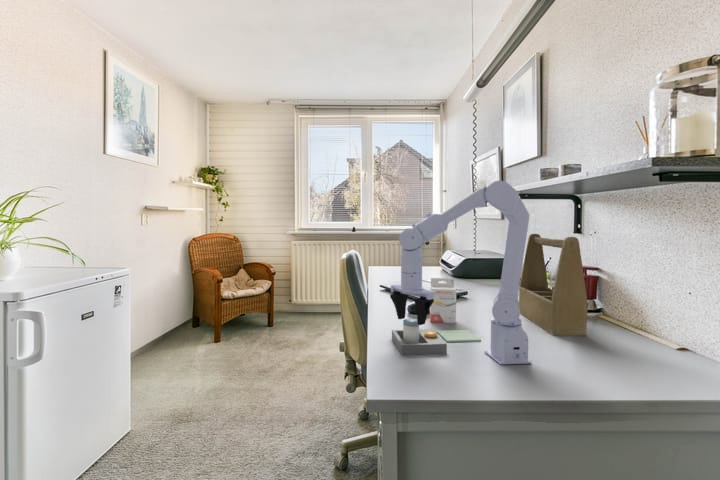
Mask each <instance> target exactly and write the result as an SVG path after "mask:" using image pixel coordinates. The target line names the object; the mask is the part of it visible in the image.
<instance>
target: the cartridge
mask: <svg viewBox="0 0 720 480" xmlns="http://www.w3.org/2000/svg"><path fill="white" fill-rule="evenodd" d="M402 320H403V321H402V322H403V326H402V327H403V328H402V330H403V339H402V341H403V343H404V344H418V343H420V341H419V329H420V325H418V322H417V318H404V319H402Z"/></svg>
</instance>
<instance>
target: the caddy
mask: <svg viewBox="0 0 720 480" xmlns="http://www.w3.org/2000/svg"><path fill="white" fill-rule="evenodd" d="M526 243H527V244H526V247H525V249H526V250H525V253H524V258H523V264H522V270H521V277H520V284H519V292H518V301H519V309H520V315H521V316H524V318H526V319H527V320H529V321H530V322H532V323H533V324H535V325H536V326H538V327H540V328H541V329H542V330H544V331H545V332H547V333H548V334H550V335H551V336H570V337H571V336H572V337H573V336H575V337H577V336H578V337H579V336H583V337H584V336H587V333H588V332H587V329H588V327H587V326H588V325H587V324H588V310H589V305H588V296H587V289H586V281H585V274H584V268H583V267H584V266H583V260H582V254H581V247H580V241H579V239H578V237H575V236H567V237H565V238H564V239H559V238H557V239H553V238H547V237H541V235H540V234H538V233H531V234H529V236H528V238H527V242H526ZM543 246H546V247H552V248H558V249H561V251H560V255H559V261H558V265H557V269H556V275H555V281H554V285H553V288H551V287H549V283H548V275H547V268H546V261H545V255H544V247H543Z"/></svg>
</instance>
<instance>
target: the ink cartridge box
mask: <svg viewBox="0 0 720 480" xmlns="http://www.w3.org/2000/svg"><path fill="white" fill-rule="evenodd" d="M441 282H443V283H441ZM429 288H430V289H429V291H433V292H434V302H433V303H432V305H431V307H430V309H429V320H430V323H437V324H438V323H439V324H443V323H444V324H456V323H457V322H456V321H457V288H456V287H455V279H454V278H450V277H449V278H447V277H432V278H430V287H429Z"/></svg>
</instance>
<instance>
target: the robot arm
mask: <svg viewBox="0 0 720 480" xmlns="http://www.w3.org/2000/svg"><path fill="white" fill-rule="evenodd" d="M488 204H489V205H490V206H491V207H493V208H494V209H496V210H498V211H500V212H501V213H502V215H503V216H504V217H505V218H506V219H507V221H508V227H507V228H508V229H507V234H506V240H505V241H506V242H505V247H504V248H505V249H504V256H503V262H502V271H501V276H500V283H499V290H498V293H497V295H496V297H495V298H494V300H493V306H492V317H491V318H490V349H485V350H484V353H485V354H487V355H488V356H489V357H491V359H493V360H494V361H495V362H497V363H498V364H499V365H520V364H521V365H522V364H523V365H524V364H532V361H531V359H529V336H528V333H526V330H524V328H523V326H522V320H521V318H520V316H521V314H520V309H519V287H520V286H519V285H520V280H521V275H522V270H523V264H524V258H525V251H526V250H525V249H526V243H527V235H528V229H529V222H530V213H529V212H528V208H526V206H525V204H524V202H523V200H522V199H521V197H520V195H519V193H518V190H516V189H515V188H514V187H513V186H512V185H510V183H508V182H506V181H505V180H496V181H493V182H491V183H490V184H489V185H488V186H483V187H481V188H479V189H477V190H475V191H474V192H472V193H470V194H469V195H468V196H466V197H464V198H462V199H461V200H460V201H458V202H457V203H455V204H454V205H453V206H451V207H450V208H448V209H447V210H445V211H444V212H442V213H440V212H435V211H434V212H432V213H431V212H429V213H427V214H426V217H425V218H424V219H422V220H420V221H419V222H417V223H412V225H411V226H412V227H409V228H405V229H403V231H402V232H401V233H400V235H399V236H398V242H399V245H400V246H401V247H400V248H401V255H400V267H401V268H400V284H391V285H390V293H391V294H389V298H390V299H391V301H392V302H393V305H394V308H395V312H396V315H397V319H398V320H405V319H406V314H407V313H406V312H407V311H406V310H407V309H406V308H407V307H406V306H407V301H408V297H409V296H412V297H417V298H414V299H413V302H414V304H415V307H416V315H417V316H416V319H417V322H418V325H419V326H423V325H425V324H426V320H427V316H428V314H429V312H430V307H431V305H432V303H433V302H434V292H433V291H430V289H425V288H424V287H423V255H422V253H423V252H422V251H423V250H422V249H423V248H422V247H423V246H424V244H425V243H429V242H430V241H432V240H433V239H435V238H437V237H439V236H440V235H442V234H443V233H445V232H447V230H448V228H449V227H448V226H449V224H450V223H451V222H453V221H455V220H457V219H458V218H460V217H462V216H464V215H465V214H467V213H469V212H471V211H473V210H474V209H478V208H488Z"/></svg>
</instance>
